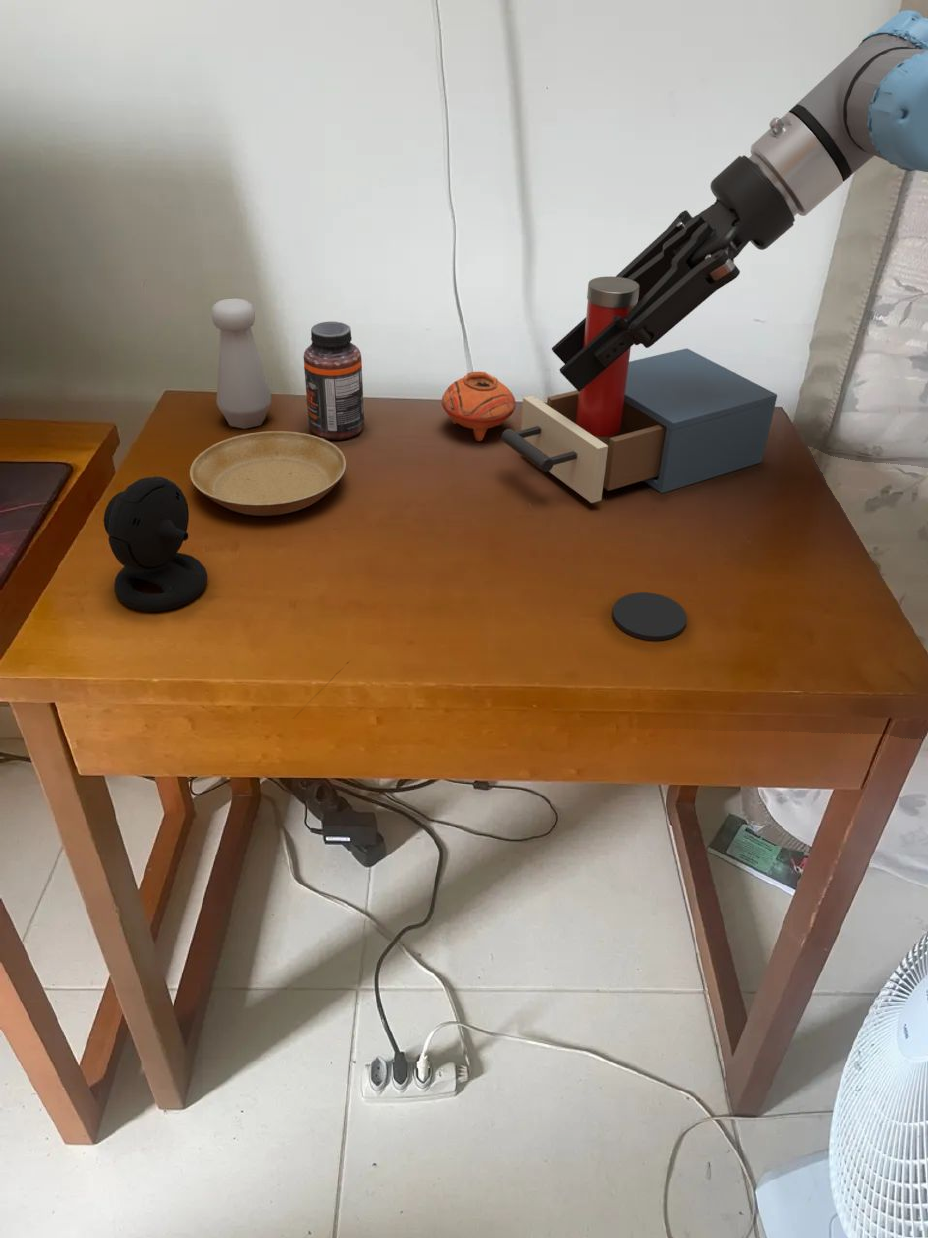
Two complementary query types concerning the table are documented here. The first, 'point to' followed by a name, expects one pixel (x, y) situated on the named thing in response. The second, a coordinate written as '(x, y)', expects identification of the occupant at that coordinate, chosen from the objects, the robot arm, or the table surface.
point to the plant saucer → (268, 472)
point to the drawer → (587, 446)
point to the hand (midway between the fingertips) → (565, 369)
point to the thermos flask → (607, 390)
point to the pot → (478, 402)
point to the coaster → (649, 616)
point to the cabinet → (700, 416)
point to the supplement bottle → (333, 382)
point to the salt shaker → (239, 366)
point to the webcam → (153, 545)
